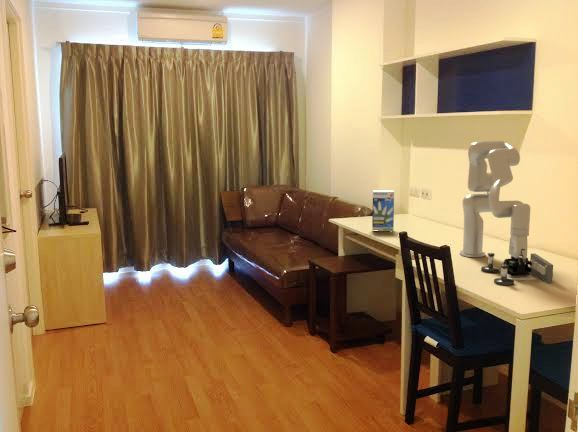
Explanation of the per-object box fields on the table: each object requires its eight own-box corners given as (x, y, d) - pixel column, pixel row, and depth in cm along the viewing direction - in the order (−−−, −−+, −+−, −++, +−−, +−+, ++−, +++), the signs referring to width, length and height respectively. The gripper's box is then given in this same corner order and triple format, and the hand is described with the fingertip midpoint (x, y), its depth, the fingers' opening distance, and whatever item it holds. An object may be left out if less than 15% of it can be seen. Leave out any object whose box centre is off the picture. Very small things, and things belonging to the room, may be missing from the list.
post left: (477, 270, 255) (478, 253, 254) (487, 268, 259) (488, 251, 259) (493, 273, 248) (494, 255, 247) (503, 270, 253) (503, 253, 252)
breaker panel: (527, 270, 253) (528, 253, 252) (534, 270, 253) (535, 253, 252) (544, 283, 234) (545, 264, 232) (552, 283, 234) (553, 264, 232)
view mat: (500, 273, 249) (500, 272, 249) (527, 273, 249) (527, 272, 248) (507, 279, 239) (507, 279, 239) (535, 279, 239) (535, 278, 239)
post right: (491, 280, 239) (492, 262, 238) (510, 280, 239) (510, 262, 238) (497, 286, 232) (498, 267, 230) (516, 285, 231) (517, 267, 230)
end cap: (523, 270, 248) (524, 256, 247) (532, 275, 241) (533, 260, 240) (502, 271, 247) (503, 257, 246) (510, 276, 240) (511, 261, 239)
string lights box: (372, 231, 346) (372, 191, 342) (373, 229, 353) (373, 189, 349) (393, 232, 343) (393, 191, 338) (393, 230, 350) (394, 190, 346)
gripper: (504, 227, 249) (502, 265, 252) (517, 235, 232) (515, 275, 235) (521, 227, 249) (519, 264, 252) (536, 235, 232) (533, 275, 235)
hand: (517, 270), depth 244 cm, fingers closed on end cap, 7 cm apart
